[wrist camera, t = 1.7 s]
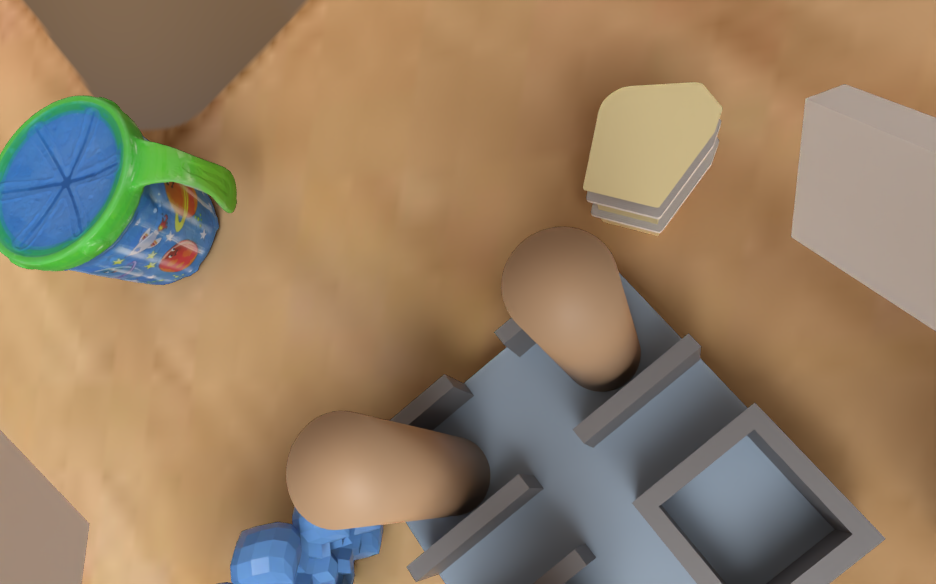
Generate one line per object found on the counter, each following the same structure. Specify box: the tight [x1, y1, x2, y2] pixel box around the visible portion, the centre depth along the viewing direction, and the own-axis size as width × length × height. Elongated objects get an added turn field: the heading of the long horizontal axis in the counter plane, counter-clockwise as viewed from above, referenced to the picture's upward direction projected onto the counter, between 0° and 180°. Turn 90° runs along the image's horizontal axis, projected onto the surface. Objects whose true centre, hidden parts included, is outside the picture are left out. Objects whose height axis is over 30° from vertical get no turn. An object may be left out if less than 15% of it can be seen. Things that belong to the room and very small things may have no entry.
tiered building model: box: [583, 82, 723, 236], centre depth 36 cm, size 10×9×6 cm
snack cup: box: [0, 96, 237, 285], centre depth 43 cm, size 16×11×10 cm
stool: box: [286, 227, 885, 584], centre depth 28 cm, size 17×17×15 cm
